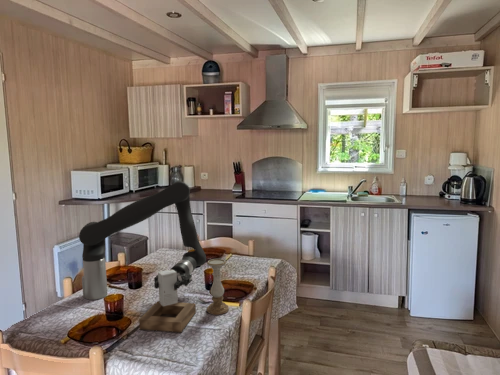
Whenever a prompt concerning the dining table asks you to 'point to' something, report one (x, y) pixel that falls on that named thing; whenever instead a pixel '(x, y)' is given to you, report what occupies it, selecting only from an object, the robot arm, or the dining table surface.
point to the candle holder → (217, 289)
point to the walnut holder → (167, 317)
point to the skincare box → (167, 287)
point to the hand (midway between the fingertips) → (165, 286)
